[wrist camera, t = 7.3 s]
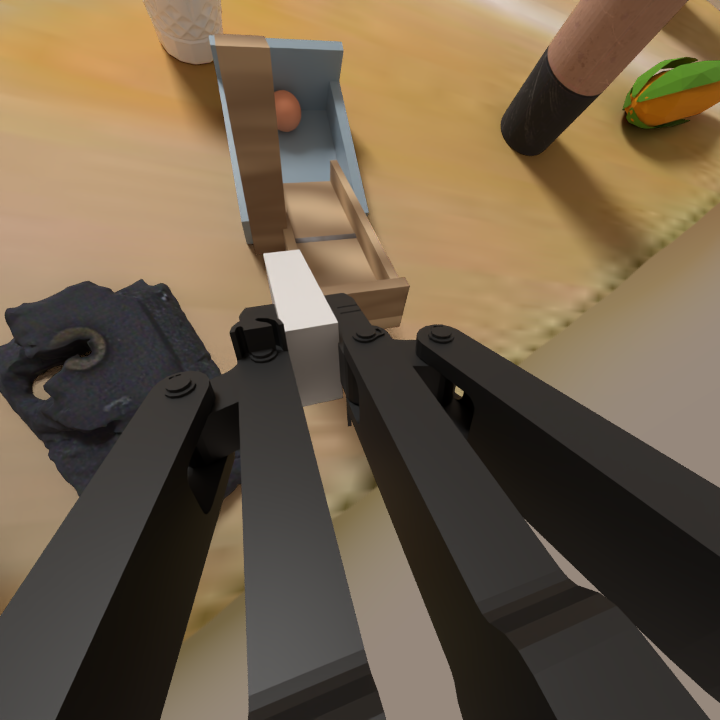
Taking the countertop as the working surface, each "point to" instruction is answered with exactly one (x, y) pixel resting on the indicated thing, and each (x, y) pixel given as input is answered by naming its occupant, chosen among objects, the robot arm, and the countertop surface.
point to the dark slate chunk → (96, 367)
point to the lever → (302, 194)
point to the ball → (287, 111)
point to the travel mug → (581, 67)
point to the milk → (715, 3)
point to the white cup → (186, 27)
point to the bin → (305, 117)
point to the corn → (673, 93)
